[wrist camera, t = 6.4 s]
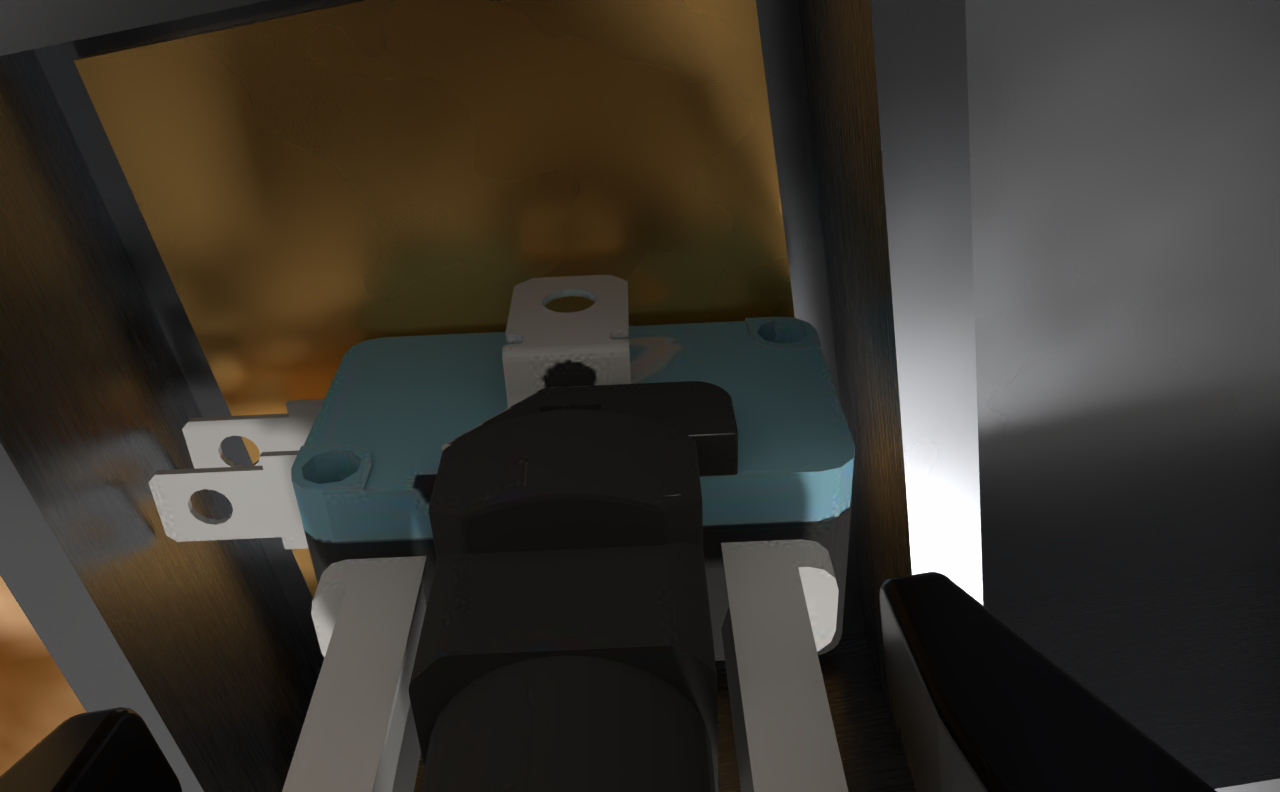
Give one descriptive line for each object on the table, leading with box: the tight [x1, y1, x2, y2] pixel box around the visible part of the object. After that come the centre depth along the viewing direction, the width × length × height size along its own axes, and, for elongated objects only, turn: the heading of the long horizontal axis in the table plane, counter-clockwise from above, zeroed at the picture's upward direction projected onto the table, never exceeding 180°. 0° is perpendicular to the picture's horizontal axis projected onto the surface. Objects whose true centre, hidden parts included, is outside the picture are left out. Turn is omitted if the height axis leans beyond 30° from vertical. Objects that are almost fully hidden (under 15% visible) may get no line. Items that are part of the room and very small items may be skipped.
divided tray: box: [0, 0, 1280, 792], centre depth 10 cm, size 23×11×4 cm, turn 100°
